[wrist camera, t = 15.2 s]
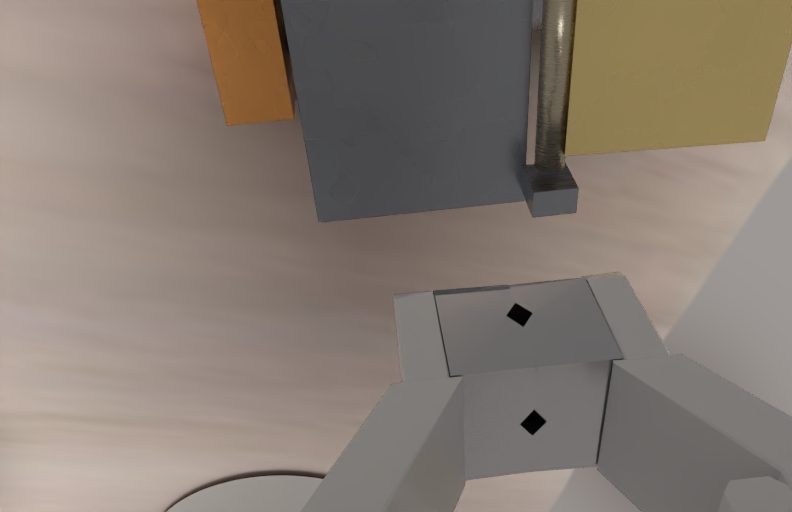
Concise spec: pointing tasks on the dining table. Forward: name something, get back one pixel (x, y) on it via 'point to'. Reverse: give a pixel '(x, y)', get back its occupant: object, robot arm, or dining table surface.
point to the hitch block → (417, 106)
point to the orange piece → (258, 58)
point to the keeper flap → (657, 74)
